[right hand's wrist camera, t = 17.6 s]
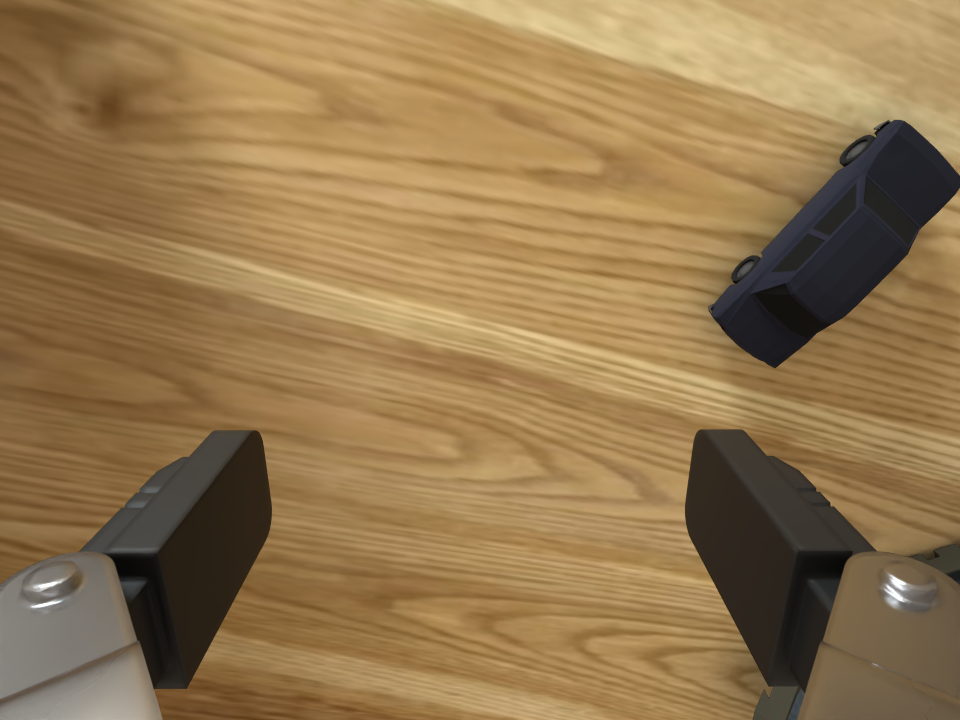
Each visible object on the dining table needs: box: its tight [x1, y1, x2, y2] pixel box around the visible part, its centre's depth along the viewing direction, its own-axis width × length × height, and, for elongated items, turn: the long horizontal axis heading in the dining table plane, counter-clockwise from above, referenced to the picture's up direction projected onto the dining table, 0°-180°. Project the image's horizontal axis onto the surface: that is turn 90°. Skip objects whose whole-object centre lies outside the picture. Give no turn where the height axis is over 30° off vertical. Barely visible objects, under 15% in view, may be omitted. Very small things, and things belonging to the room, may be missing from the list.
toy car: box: [708, 120, 960, 368], centre depth 35 cm, size 6×15×5 cm, turn 142°
